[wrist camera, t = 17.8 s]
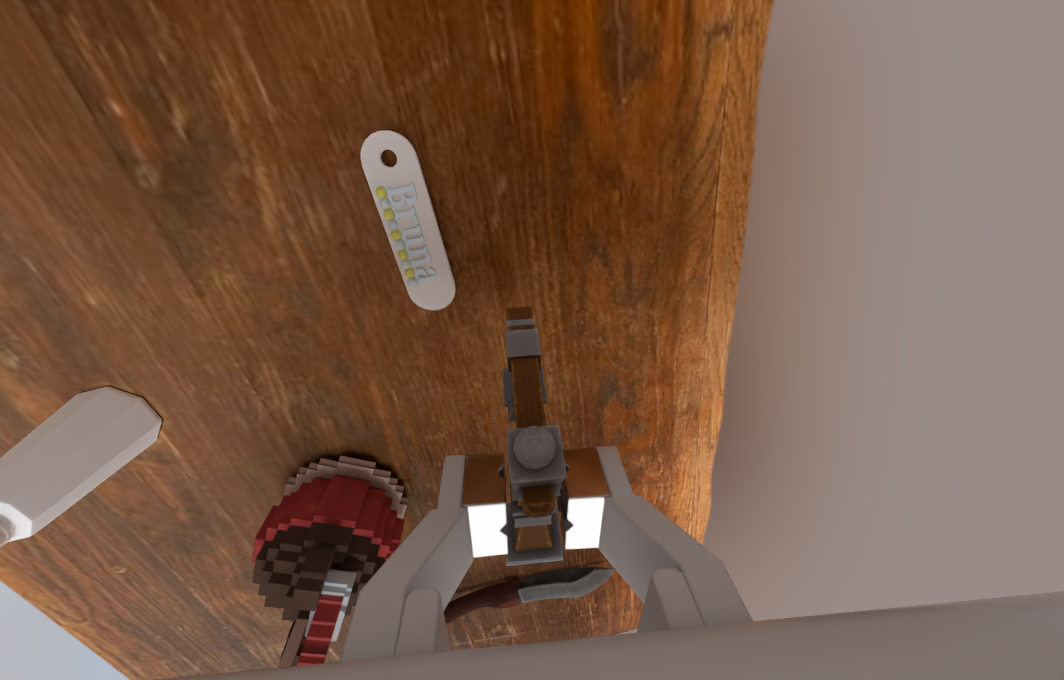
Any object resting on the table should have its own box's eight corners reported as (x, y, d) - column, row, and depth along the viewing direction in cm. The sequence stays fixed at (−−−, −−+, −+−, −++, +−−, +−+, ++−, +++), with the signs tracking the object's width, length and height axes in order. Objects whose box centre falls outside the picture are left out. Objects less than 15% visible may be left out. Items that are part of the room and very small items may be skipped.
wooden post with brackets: (560, 276, 9) (599, 486, 6) (548, 431, 15) (564, 567, 12) (476, 281, 9) (478, 498, 6) (500, 435, 15) (506, 573, 12)
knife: (613, 554, 41) (621, 584, 39) (614, 563, 42) (622, 592, 39) (438, 589, 42) (435, 621, 39) (443, 597, 42) (440, 628, 40)
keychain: (349, 136, 21) (406, 125, 21) (353, 136, 21) (408, 124, 21) (414, 316, 26) (460, 307, 26) (416, 312, 26) (461, 303, 26)
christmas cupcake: (299, 433, 30) (94, 768, 15) (421, 459, 33) (356, 772, 17) (284, 523, 35) (116, 853, 19) (393, 540, 37) (321, 847, 22)
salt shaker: (89, 442, 29) (-108, 601, 20) (61, 381, 27) (-181, 528, 17) (173, 447, 30) (23, 601, 20) (153, 388, 28) (-28, 532, 18)
